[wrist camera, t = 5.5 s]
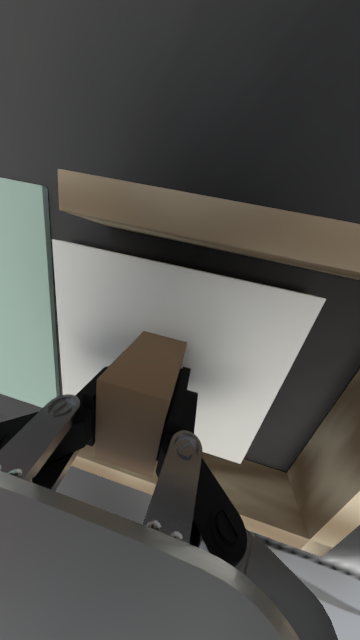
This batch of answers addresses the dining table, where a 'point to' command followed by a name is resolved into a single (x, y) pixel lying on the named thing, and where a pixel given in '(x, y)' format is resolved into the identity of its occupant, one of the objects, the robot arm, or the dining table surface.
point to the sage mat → (27, 295)
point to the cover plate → (187, 311)
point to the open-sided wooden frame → (277, 246)
